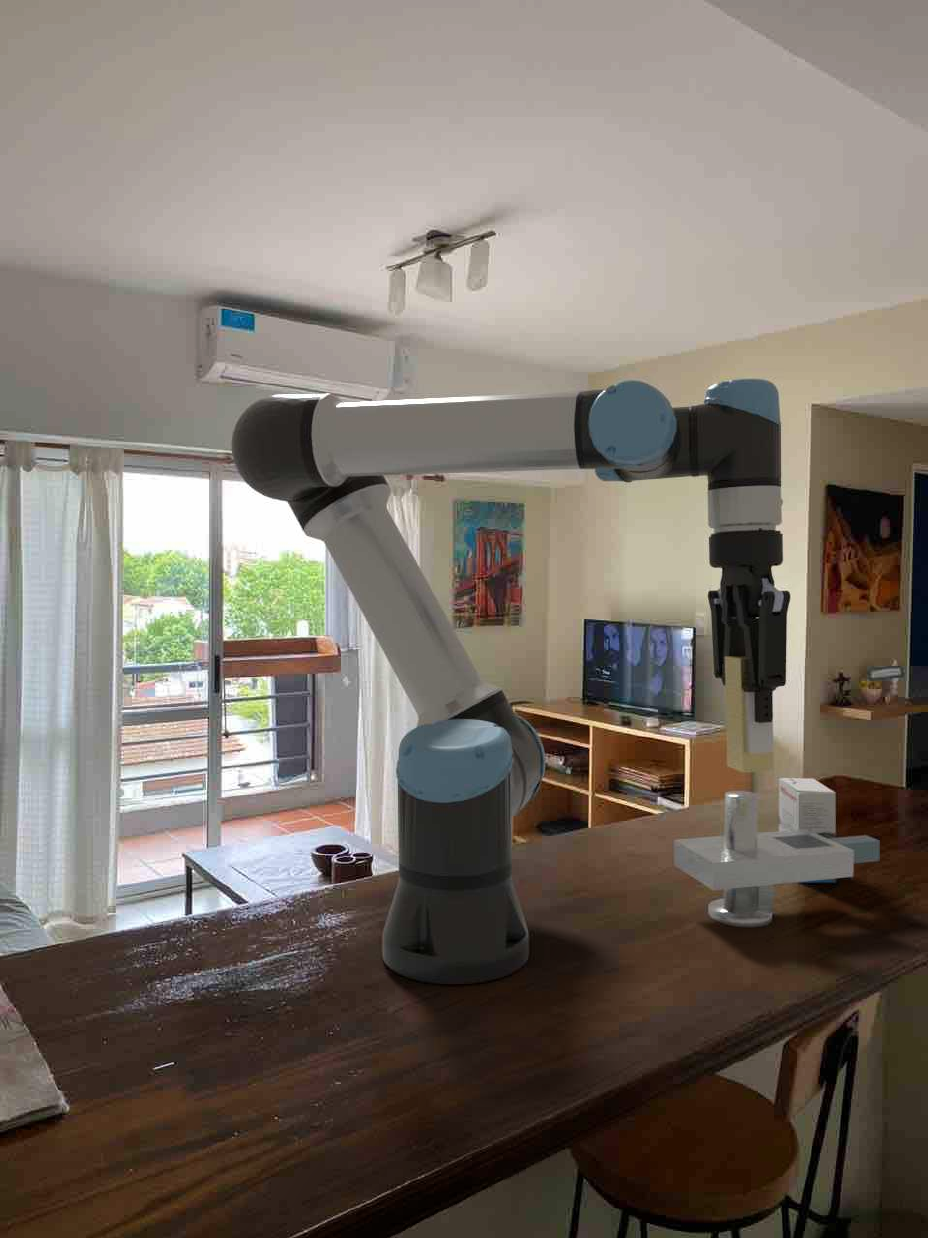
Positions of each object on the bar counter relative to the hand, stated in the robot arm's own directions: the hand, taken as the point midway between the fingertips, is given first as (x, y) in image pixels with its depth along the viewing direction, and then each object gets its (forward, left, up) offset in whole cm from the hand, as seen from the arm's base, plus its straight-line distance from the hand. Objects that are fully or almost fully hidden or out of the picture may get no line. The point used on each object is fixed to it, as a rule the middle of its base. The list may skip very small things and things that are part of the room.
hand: (749, 748), depth 101 cm
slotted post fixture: (+8, +5, -20) cm, 23 cm away
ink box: (+19, +17, -21) cm, 32 cm away
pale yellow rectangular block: (0, 0, -2) cm, 2 cm away
